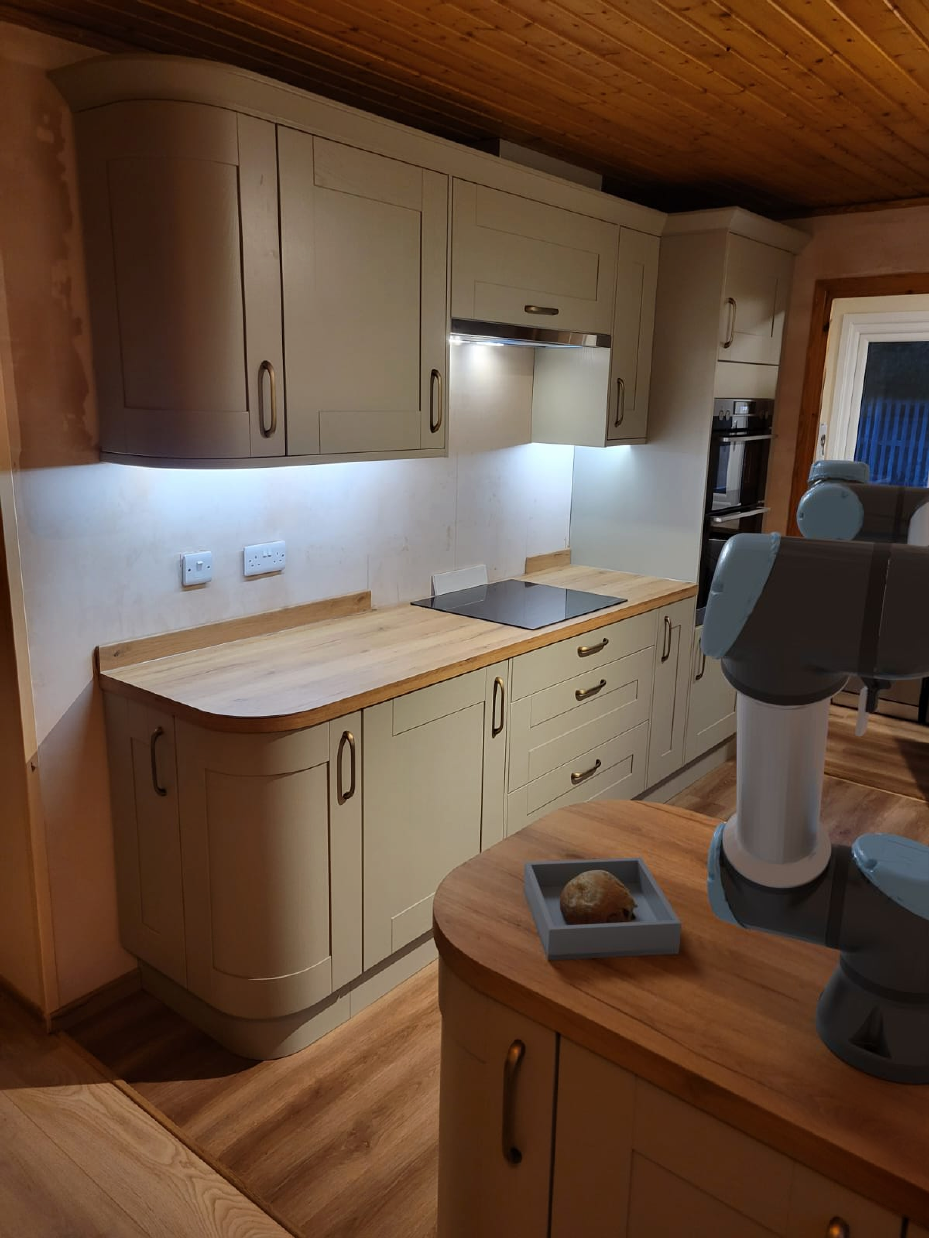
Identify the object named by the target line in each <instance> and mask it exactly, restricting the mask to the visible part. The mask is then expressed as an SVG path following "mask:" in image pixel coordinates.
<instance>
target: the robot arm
mask: <svg viewBox="0 0 929 1238" xmlns="http://www.w3.org/2000/svg"><path fill="white" fill-rule="evenodd" d="M870 471H871V469H870V466H869V465H868V464H867V463H865V462H863V461H855V460H844V459H843V460H839V459H838V460H837V459H823V460H822V459H820V460H819V459H818V460H815V461H814V462H813V463H812V464H811V466H810V471H809V476H808V479H807V491H806V492H805V493H804V494H803V495H802V497H801V499H800V500H799V502H798V505H797V506H798V507H797V512H796V522H797V526H798V530H799V531H800V533H801V534H802V536H794V535H793V536H791V535H790V536H789V535H781V533H780V532H778V531H772V532H770V533H753V532H752V533H751V532H750V533H749V532H748V533H746V532H742V533H737V534H735V535H733V536H731V537H729V539H728V540H727V541H726V542H725V544H724V545H723V546H722V549H721V551H720V554H719V557H718V560H717V563H716V567H715V570H714V574H713V578H712V581H711V584H710V590H709V593H708V597H707V598H708V599H707V602H706V606H705V607H706V608H705V612H704V617H703V623H702V627H701V635H700V636H701V637H700V642H699V643H700V646H699V647H700V650H701V653H702V654H704V655H705V656H706V657H710V658H711V659H713V660H717V661H718V660H720V667H721V673H722V675H723V678H724V679H725V681H726V683H727V684H728V685H729V686H730V687H731V689H733V690H734V691H735V692H736V694H737V695H736V699H737V700H736V709H737V710H736V812H735V813H733V815H731V817H729V819H728V820H727V821H724V822H720V823H719V824H718V825H717V826H716V828H715V829H714V831H713V834H712V836H711V841H710V844H709V845H710V846H709V848H708V849H709V850H708V857H707V866H706V867H707V871H706V872H707V879H706V883H707V884H706V889H707V897H708V901H709V905H710V909H711V910H712V912H713V914H714V915H715V917H717V918H718V919H719V920H721V921H723V922H725V923H729V924H732V925H735V926H737V927H739V928H741V929H744V930H749V931H751V930H752V931H756V932H760V933H764V934H769V935H772V936H773V935H774V936H777V937H781V938H786V939H790V940H795V941H800V942H803V943H808V944H812V945H815V946H820V947H823V948H827V949H832V950H837V951H840V952H839V959H838V964H837V965H836V967H835V969H834V970H833V973H832V974H831V976H830V978H829V980H828V981H827V983H826V986H825V988H824V989H823V991H822V992H821V993H820V994H819V996H818V999H817V1002H816V1009H815V1017H814V1022H815V1023H814V1025H815V1029H816V1032H817V1035H819V1037H820V1039H821V1041H822V1043H824V1045H825V1046H826V1047H827V1048H828V1049H829V1050H830V1051H831V1052H832V1053H834V1054H835V1055H836V1056H837V1057H838V1058H840V1059H841V1060H842V1061H844V1062H846V1063H847V1064H848V1065H850V1066H852V1067H854V1068H856V1069H857V1070H860V1071H862V1072H863V1073H866V1074H869V1075H872V1076H873V1077H876V1078H880V1079H883V1080H887V1081H890V1082H891V1081H892V1082H895V1083H896V1082H897V1083H899V1084H900V1083H901V1084H902V1083H903V1084H909V1085H910V1084H911V1085H912V1084H914V1085H919V1084H921V1085H923V1084H929V846H928V845H926V844H923V843H922V842H918V841H916V840H913V839H910V838H907V837H904V836H900V835H897V834H893V833H892V834H891V833H885V832H878V833H877V834H874V833H872V832H869V833H864V834H862V835H860V836H859V837H857V838H856V839H855V841H854V842H853V843H852V845H851V846H850V845H845V844H840V843H836V842H831V838H830V834H829V833H828V831H827V829H826V827H825V826H824V824H823V823H822V822H821V821H820V818H821V806H822V796H823V783H824V776H825V773H824V772H825V763H826V762H825V761H826V754H827V753H826V752H827V751H826V750H827V743H828V742H827V741H828V732H829V731H828V730H829V722H830V721H829V719H830V709H831V699H832V698H834V697H835V696H836V695H838V694H840V692H841V691H842V690H843V689H844V688H845V687H846V685H847V683H848V682H849V680H850V677H851V676H853V677H859V678H860V680H861V681H862V682H863V684H864V687H863V688H862V689H860V693H859V700H858V701H859V702H858V709H857V717H856V718H857V719H856V725H855V731H854V732H855V733H854V736H856V737H857V736H858V737H862V736H863V735H864V734H865V733H866V732H867V729H868V721H869V714H874V713H876V711H877V709H878V705H879V698H880V691H881V690H890V689H892V687H893V686H895V685H896V683H897V681H902V680H903V681H904V680H906V681H907V680H908V681H909V680H916V679H921V678H927V677H929V487H925V486H924V487H923V486H922V487H921V486H918V487H917V486H905V485H890V484H876V483H870V473H871V472H870Z"/></svg>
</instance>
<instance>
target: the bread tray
mask: <svg viewBox="0 0 929 1238" xmlns="http://www.w3.org/2000/svg"><path fill="white" fill-rule="evenodd" d="M523 870H524V871H523V872H524V873H523V892H524V895H525V898H526V901H527V903H528V907H529V910H530V913H531V915H532V918H533V922H534V925H535V928H536V931H537V934H538V936H539V939H540V942H541V946H542V948H543V951H544V954H545V956H546V960H547V961H563V960H564V961H567V960H568V961H569V960H581V959H582V960H583V959H584V960H585V959H601V958H602V959H603V958H604V959H605V958H619V957H624V958H625V957H636V956H637V957H639V956H640V957H641V956H656V955H657V956H659V955H677V954H680V944H681V932H682V931H681V930H682V922H681V921H680V918H679V917H678V915H677V914H676V912H675V910H674V909H673V907H672V906H671V903H670V902H669V901H668V899H667V897H666V895H665V894H664V892H663V891H662V889H661V887H660V886H659V883H658V882H657V881H656V879H655V878H654V876H653V874H652V873H651V871H650V869H649V868H648V866H647V864H646V863H645V862H644V860H643V858H642V856H641V857H622V858H621V857H619V858H618V857H617V858H616V857H615V858H598V859H597V858H595V859H591V858H590V859H575V860H574V859H572V860H571V859H570V860H569V859H568V860H567V859H566V860H549V861H547V860H546V861H525V862H524V869H523ZM593 870H603V871H606V872H609V873H610V874H612V875H613V876H615V877H616V878H617V879H618V880H619V881H620V882H621V883H622V884H623V885H624V886H625V887H626V888H627V889H628V890H629V893H630V895H631V896H632V897H633V900H634V901H635V902H636V904H637V905H638V907H637V908H634V910H633V913H634V915H635V916H636V919H635V920H631V922H624V923H604V924H583V925H571V924H569V923H568V922H567V921H566V920H565V919H564V917H563V916H562V913H561V910H560V897H561V894H562V891H563V889H564V888H565V886H566V885H567V884H568V883H569V882H570V881H571V880H572V879H574V878H575V877H577V876H579V875H580V874H582V873H584V872H588V871H593Z"/></svg>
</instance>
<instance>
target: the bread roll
mask: <svg viewBox="0 0 929 1238" xmlns="http://www.w3.org/2000/svg"><path fill="white" fill-rule="evenodd" d="M637 907H638V905H637V904H636V902H635V901H634V900H633V897H632V896H631V895H630V893H629V890H628V889H627V888H626V887H625V886H624V885H623V884H622V883H621V882H620V881H619V880H618V879H617V878H616V877H615V876H613V875H612V874H610V873H609V872H606V871H603V870H593V871H588V872H584V873H582V874H580V875H579V876H577V877H575V878H574V879H572V880H571V881H570V882H569V883H568V884H567V885H566V886H565V888H564V889H563V891H562V894H561V897H560V910H561V913H562V916H563V917H564V919H565V920H566V921H567V922H568V923H569V924H571V925H583V924H604V923H624V922H631V920H635V919H636V916H635V915H634V913H633V910H634V908H637Z"/></svg>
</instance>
